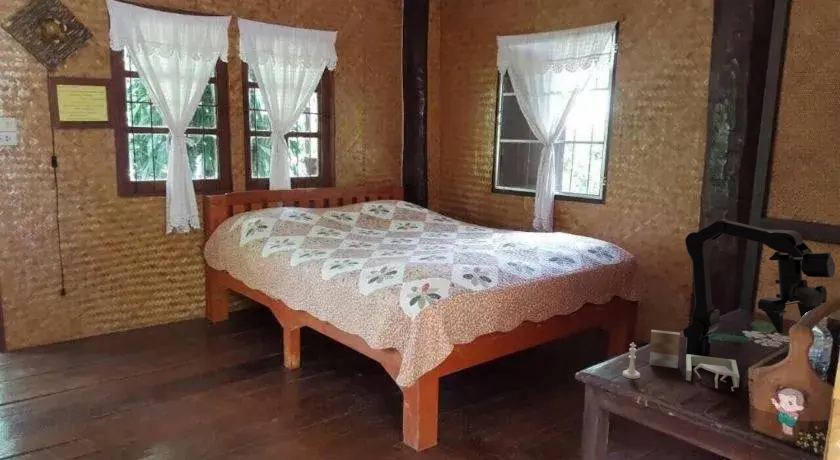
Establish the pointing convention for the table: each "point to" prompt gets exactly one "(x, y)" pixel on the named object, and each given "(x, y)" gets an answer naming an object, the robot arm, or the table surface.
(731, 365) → the green c-shaped bracket
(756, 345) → the table surface
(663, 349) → the two-tone wooden slab
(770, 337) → the table surface
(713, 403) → the table surface
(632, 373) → the chess piece
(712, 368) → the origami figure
